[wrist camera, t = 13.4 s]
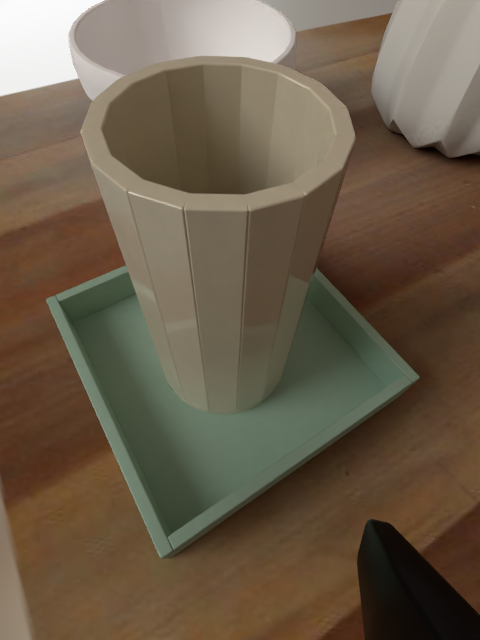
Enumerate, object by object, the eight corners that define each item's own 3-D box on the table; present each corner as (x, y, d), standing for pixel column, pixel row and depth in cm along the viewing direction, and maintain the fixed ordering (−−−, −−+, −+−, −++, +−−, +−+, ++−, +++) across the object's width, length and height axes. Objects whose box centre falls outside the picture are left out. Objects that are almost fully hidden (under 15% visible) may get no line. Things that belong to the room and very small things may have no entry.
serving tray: (169, 559, 15) (160, 559, 13) (63, 323, 21) (45, 298, 19) (400, 396, 19) (420, 377, 17) (257, 236, 25) (260, 207, 23)
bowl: (120, 220, 25) (83, 104, 19) (88, 108, 32) (54, -4, 26) (314, 177, 28) (340, 65, 22) (246, 83, 35) (250, -22, 29)
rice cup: (259, 435, 17) (310, 248, 7) (139, 385, 18) (21, 158, 8) (300, 327, 21) (378, 85, 10) (195, 290, 22) (165, 38, 11)
